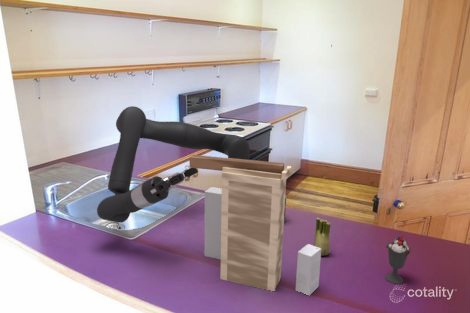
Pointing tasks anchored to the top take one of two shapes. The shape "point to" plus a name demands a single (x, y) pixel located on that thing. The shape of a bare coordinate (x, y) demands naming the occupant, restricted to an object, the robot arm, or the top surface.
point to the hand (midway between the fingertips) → (189, 172)
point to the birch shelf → (252, 226)
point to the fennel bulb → (322, 236)
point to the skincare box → (308, 269)
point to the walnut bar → (234, 164)
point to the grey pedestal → (213, 222)
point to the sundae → (397, 258)
